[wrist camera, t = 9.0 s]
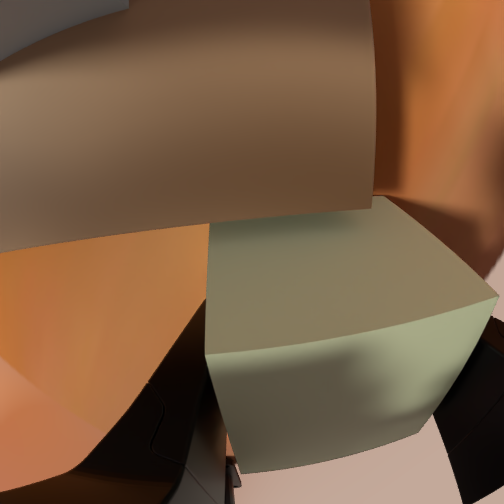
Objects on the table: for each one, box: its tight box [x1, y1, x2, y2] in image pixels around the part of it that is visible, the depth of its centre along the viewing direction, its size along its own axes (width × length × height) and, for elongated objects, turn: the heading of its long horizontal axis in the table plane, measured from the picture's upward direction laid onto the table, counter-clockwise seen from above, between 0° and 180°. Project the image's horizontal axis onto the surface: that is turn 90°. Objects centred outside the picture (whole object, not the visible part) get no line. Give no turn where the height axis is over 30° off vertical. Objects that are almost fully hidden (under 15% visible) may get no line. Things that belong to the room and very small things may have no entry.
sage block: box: [205, 196, 499, 474], centre depth 7 cm, size 5×5×5 cm
